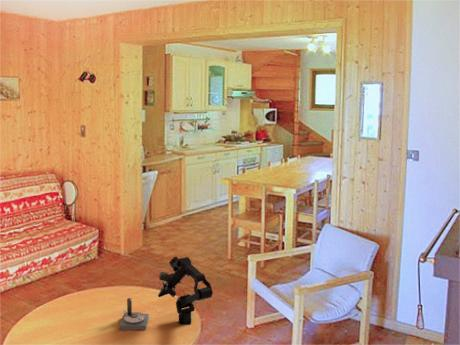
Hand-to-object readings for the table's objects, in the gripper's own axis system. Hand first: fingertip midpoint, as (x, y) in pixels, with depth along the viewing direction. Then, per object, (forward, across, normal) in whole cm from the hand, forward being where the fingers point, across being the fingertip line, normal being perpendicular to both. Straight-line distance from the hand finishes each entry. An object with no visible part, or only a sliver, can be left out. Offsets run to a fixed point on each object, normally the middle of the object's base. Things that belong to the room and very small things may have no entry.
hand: (158, 296), depth 279 cm
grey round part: (+17, +3, -3) cm, 18 cm away
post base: (+19, +4, -1) cm, 19 cm away
